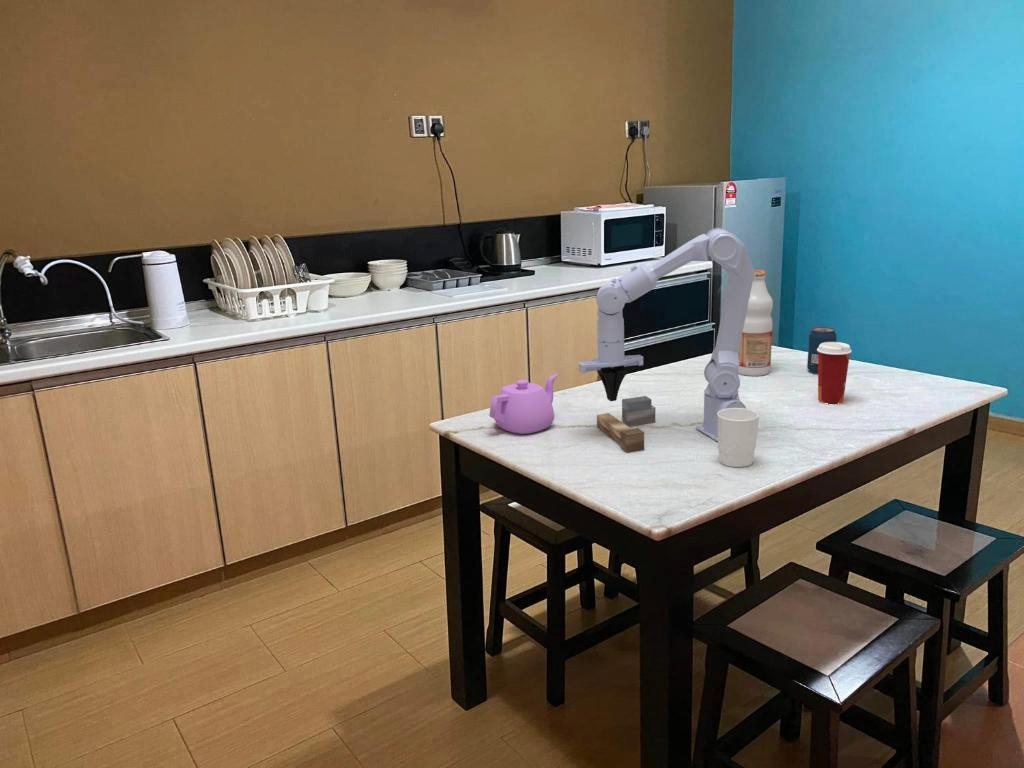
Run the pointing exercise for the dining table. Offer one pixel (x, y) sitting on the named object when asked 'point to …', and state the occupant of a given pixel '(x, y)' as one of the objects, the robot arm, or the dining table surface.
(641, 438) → the brown grey blocky piece
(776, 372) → the dining table surface
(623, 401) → the bar
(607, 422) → the arm
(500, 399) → the teapot
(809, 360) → the soda can
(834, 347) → the paper cup
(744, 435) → the white cup
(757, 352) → the fruit juice
